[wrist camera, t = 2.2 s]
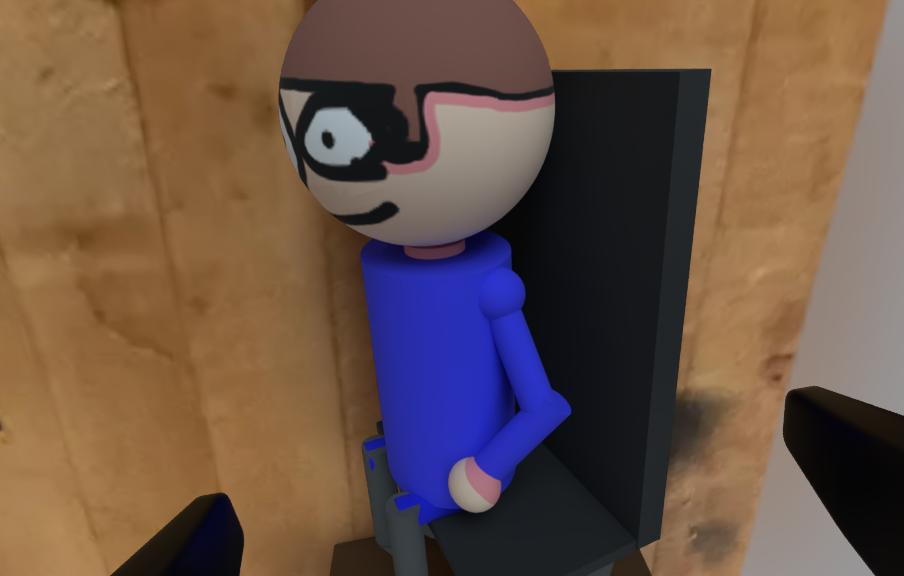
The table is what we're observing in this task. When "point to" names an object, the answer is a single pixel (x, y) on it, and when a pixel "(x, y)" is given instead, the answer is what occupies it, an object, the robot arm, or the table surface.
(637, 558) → the walnut block
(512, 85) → the character figurine
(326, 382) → the table surface
